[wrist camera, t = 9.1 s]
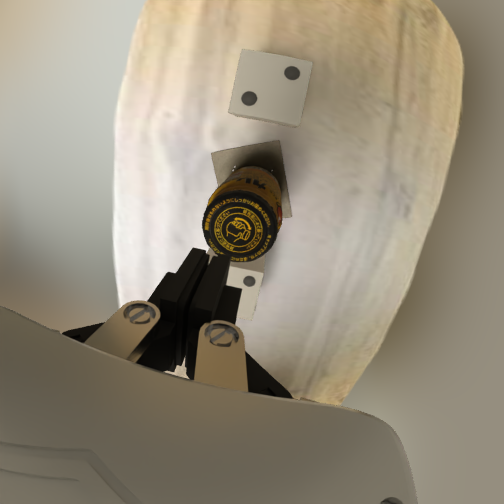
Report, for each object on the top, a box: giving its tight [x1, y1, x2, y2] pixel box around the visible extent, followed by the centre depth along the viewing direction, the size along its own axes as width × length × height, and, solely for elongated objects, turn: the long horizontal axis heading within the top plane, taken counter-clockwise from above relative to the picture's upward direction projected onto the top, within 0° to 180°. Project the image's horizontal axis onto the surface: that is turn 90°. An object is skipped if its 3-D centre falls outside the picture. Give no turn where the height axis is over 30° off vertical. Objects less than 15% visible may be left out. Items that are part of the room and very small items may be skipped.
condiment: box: [202, 141, 292, 262], centre depth 24 cm, size 7×8×12 cm
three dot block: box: [207, 248, 265, 320], centre depth 30 cm, size 6×6×6 cm
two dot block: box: [228, 49, 313, 128], centre depth 22 cm, size 6×6×6 cm
